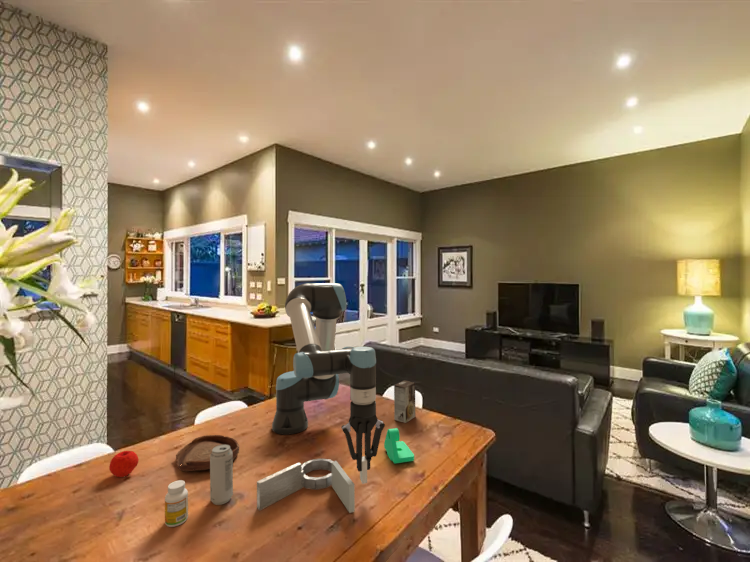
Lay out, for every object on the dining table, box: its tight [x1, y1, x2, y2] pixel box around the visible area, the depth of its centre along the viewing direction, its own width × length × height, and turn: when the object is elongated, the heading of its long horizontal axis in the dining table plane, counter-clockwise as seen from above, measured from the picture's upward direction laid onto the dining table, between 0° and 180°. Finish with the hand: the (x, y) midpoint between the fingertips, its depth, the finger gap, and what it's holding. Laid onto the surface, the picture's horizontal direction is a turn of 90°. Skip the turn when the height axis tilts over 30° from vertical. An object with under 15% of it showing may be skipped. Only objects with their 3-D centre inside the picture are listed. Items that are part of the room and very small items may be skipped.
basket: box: [175, 434, 240, 472], centre depth 126 cm, size 22×20×5 cm
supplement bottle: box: [164, 479, 189, 528], centre depth 93 cm, size 5×5×10 cm
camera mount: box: [383, 427, 415, 464], centre depth 127 cm, size 12×8×10 cm, turn 15°
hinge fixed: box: [256, 458, 334, 511], centre depth 108 cm, size 12×27×8 cm, turn 137°
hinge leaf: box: [331, 460, 356, 514], centre depth 102 cm, size 2×14×8 cm, turn 27°
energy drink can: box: [209, 444, 234, 506], centre depth 102 cm, size 6×6×15 cm
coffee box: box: [393, 380, 417, 424], centre depth 161 cm, size 9×6×16 cm
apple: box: [108, 450, 140, 478], centre depth 116 cm, size 8×8×7 cm
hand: (363, 480), depth 103 cm, fingers closed
